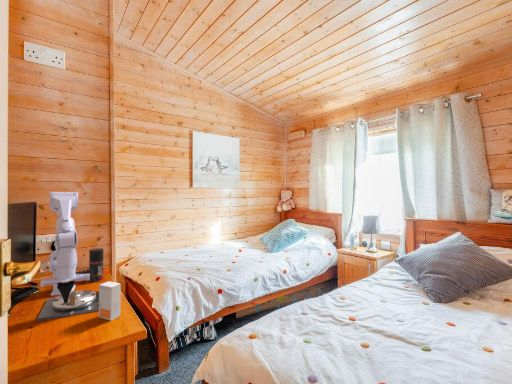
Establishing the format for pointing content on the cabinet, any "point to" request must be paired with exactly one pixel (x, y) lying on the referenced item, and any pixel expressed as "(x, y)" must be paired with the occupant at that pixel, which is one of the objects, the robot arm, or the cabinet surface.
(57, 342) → the cabinet surface
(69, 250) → the robot arm
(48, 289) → the cabinet surface
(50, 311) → the base plate
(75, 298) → the flat grey disc
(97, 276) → the deodorant
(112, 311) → the skincare box
